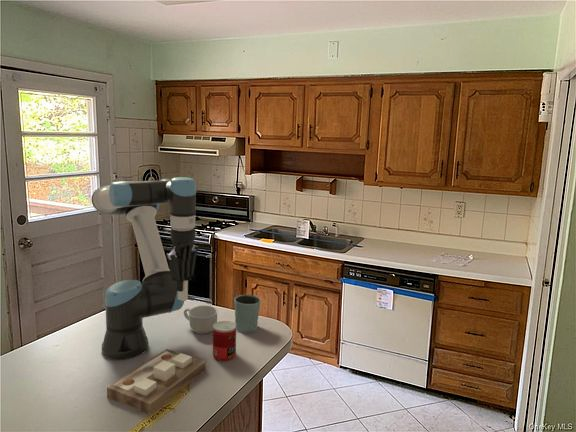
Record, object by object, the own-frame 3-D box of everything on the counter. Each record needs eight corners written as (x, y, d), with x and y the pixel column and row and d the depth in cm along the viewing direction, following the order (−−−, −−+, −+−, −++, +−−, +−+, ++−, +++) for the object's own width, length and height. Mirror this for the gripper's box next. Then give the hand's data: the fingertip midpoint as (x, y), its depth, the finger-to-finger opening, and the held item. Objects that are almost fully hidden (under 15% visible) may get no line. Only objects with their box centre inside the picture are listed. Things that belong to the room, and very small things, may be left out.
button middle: (153, 380, 127) (153, 367, 126) (163, 373, 131) (163, 360, 130) (165, 384, 125) (165, 371, 124) (175, 377, 129) (175, 364, 128)
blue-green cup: (229, 325, 169) (229, 297, 167) (251, 320, 175) (252, 292, 172) (241, 336, 161) (242, 306, 158) (264, 330, 167) (265, 301, 164)
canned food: (231, 362, 142) (232, 332, 140) (208, 359, 144) (209, 328, 141) (238, 351, 149) (239, 322, 147) (217, 348, 151) (217, 319, 149)
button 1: (133, 399, 120) (133, 385, 119) (145, 391, 124) (144, 377, 123) (145, 404, 118) (145, 389, 118) (156, 395, 122) (156, 381, 121)
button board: (107, 396, 121) (106, 386, 121) (166, 357, 144) (166, 348, 143) (150, 414, 115) (150, 403, 114) (205, 369, 137) (205, 360, 136)
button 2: (171, 372, 134) (171, 359, 134) (180, 365, 138) (180, 353, 138) (182, 375, 133) (182, 363, 132) (191, 369, 137) (191, 356, 136)
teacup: (223, 329, 166) (223, 309, 164) (203, 339, 157) (203, 319, 155) (196, 319, 173) (197, 301, 172) (176, 329, 164) (176, 309, 163)
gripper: (178, 234, 124) (178, 309, 129) (206, 226, 136) (204, 295, 141) (158, 230, 128) (159, 303, 133) (187, 222, 139) (186, 290, 144)
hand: (182, 299), depth 137 cm, fingers closed
